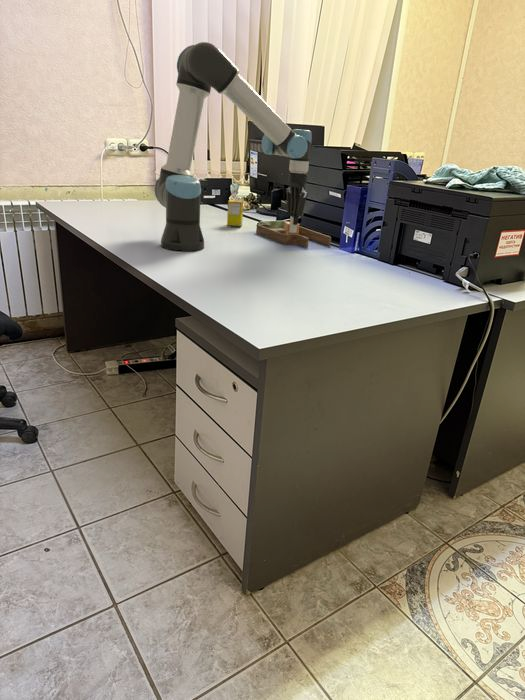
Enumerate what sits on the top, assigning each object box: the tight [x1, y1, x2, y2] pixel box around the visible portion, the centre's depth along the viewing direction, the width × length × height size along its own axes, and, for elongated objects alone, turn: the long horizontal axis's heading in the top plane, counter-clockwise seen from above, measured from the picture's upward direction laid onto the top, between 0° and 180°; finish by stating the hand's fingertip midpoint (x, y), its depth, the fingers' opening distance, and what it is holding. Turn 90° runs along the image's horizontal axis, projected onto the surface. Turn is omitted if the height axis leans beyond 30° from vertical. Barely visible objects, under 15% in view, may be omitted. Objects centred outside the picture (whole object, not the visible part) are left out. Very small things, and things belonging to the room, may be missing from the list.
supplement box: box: [226, 198, 244, 228], centre depth 218 cm, size 6×6×11 cm
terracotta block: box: [284, 221, 301, 235], centre depth 211 cm, size 5×5×5 cm
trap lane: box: [255, 220, 332, 248], centre depth 206 cm, size 17×34×4 cm, turn 32°
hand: (292, 232), depth 208 cm, fingers closed
